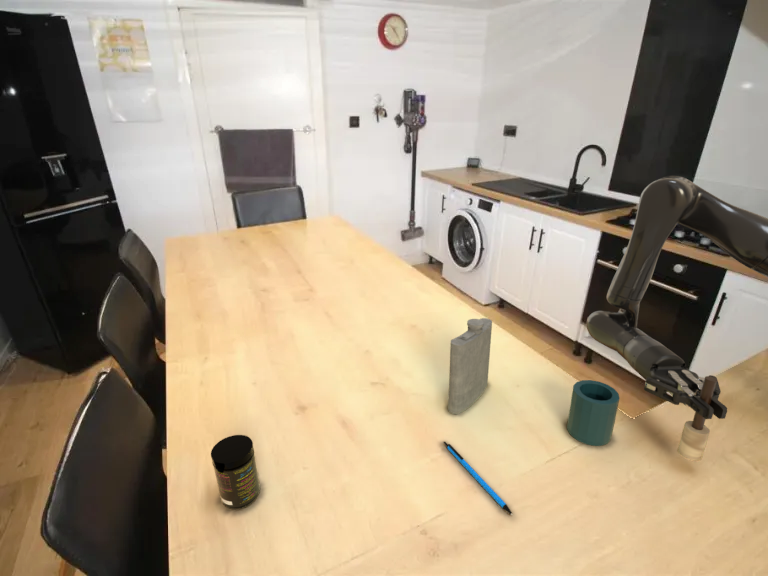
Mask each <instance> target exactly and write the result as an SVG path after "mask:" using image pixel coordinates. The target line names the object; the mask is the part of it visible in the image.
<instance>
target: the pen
mask: <svg viewBox="0 0 768 576" xmlns="http://www.w3.org/2000/svg"><path fill="white" fill-rule="evenodd" d="M443 444H444V445H445V446H446V449H447V450H448V451H449V452H450V453H451V454H452V455H453V456H454V458H455V459H456V460H457V461H458V462H459V463H460V464H461V466H463V467H464V469H465V470H467V472H468V473H469V474H470V475H471V476H472V477H473V478H474V479H475V480H476V481H477V482H478V484H480V486H481V487H482V488H483V489H484V490H485V491H486V492H487V493H488V494H489V496H491V498H493V499H494V501H495V502H496V503H497V504H498V505H499V507H501V508H502V509H503V510H504V511H506V512H507V513H509V514H510V515H513V512H512V511H511V509H510V507H509V506H508V504H507V503H506V502H505V501H504V500H503V499H502V498H501V497H500V496H499V495H498V493H497V492H495V491H494V489H492V487H490V485H489V484H488V483H487V482H486V481H485V480H484V479H483V477H481V476H480V475H479V474H478V473H477V471H475V470H474V468H472V466H471V465H470V464H469V463H468V462H467V461H466V460H465V459H464V457H463V456H462V455H461V454H460V453H459V452H458V451H457V450H456V449H455V448H454V447H453V446H452V444H450V443H447V442H446V441H444V442H443Z"/></svg>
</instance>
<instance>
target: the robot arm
mask: <svg viewBox="0 0 768 576" xmlns="http://www.w3.org/2000/svg"><path fill="white" fill-rule="evenodd" d="M636 210H637V211H636V215H635V220H634V224H633V229H632V232H631V235H630V238H629V241H628V244H627V246H626V249H625V251H624V254H623V256H622V258H621V260H620V263H619V265H618V266H617V268H616V270H615V271H616V272H615V274H614V276H613V278H612V280H611V282H610V286H609V288H608V290H607V293H606V300H607V302H608V303H609V304H610V305H612V306H613V307H615V308H618V309H619V310H618V311H607V310H596V311H593V312H592V313H591V314H589V316H587V319H586V323H585V324H586V330H587V332H588V334H589V336H590V337H591V338H592V339H593V340H594V341H596V342H598V343H599V344H601V345H603V346H604V347H607V348H608V349H611V350H613V351H615V352H616V353H617V354H618V355H620V357H622V358H623V359H624V360H625V361H626V362H627V364H628V365H629V367H631V368H632V369H633V370H634V371H635V372H636V373H637V374H638V375H640V377H641V378H643V379H644V380H645V383H644V386H643V390H644V391H645V392H647V393H649V394H651V395H653V396H656V397H658V398H660V399H662V400H664V401H666V402H669V403H670V404H672V405H674V406H675V405H676V406H679V405H680V404H683V405H684V406H685V407H688V408H689V407H690V408H691V409H692V410H693V411H694V413H695V412H696V413H698V414H699V415H701V416H703V417H704V418H705V419H706V420H711V419H712V418H713V416H715V417H716V418H717V419H718V420H724V419H726V417H727V413H728V407H727V406H726V405H725V404H723V403H722V402H721V401H720V400H719V398H720V395H721V392H722V391H721V387H720V384H719V380H718V377H717V376H715V375H713V374H711V375H708V376H710V377H713V378H715V379H716V380H717V382H716V385H715V389H714V392H713V396H712V399H711V403H710V405H708V404H707V403H706V402H705V401H704V400H702V399H701V398H700V394H701V390H702V386H703V383H704V379H705V377H703V376H699V374H698V373H696V372H694V371H691V370H689V369H688V367H687V364H686V363H685V361H684V359H683V358H681V357H680V356H679V355H677V354H676V353H675V352H673V351H672V350H670V349H669V348H667V346H665V345H664V344H662V343H661V342H660V341H658V340H656V339H654V338H652V337H651V336H650V335H649V334H647V333H646V332H644V331H643V330H641V329H639V328H638V320H639V313H640V312H639V311H640V306H641V302H642V300H643V297H644V295H645V293H646V292H647V289H648V287H649V284H650V282H651V280H652V278H653V274H654V272H655V269H656V265H657V262H658V259H659V256H660V253H661V251H662V250H663V247H664V246H665V243H666V241H667V239H668V237H670V235H671V233H672V231H673V230H674V229H675V227H676V226H677V225H678V224H679V225H681V226H684V227H686V228H688V229H691V230H693V231H695V232H696V233H699V234H700V235H702V236H703V237H705V238H707V239H708V240H709V241H711V242H712V243H714V245H716V246H718V248H720V249H721V250H722V251H724V252H725V253H726V254H727V255H729V256H730V257H731V258H733V260H735V261H737V262H738V263H740V264H741V265H743V266H745V267H746V268H748V269H750V270H752V271H754V272H756V273H758V274H760V275H762V276H764V277H766V278H768V217H765V216H763V215H761V214H758V213H755V212H753V211H749V210H747V209H744V208H741V207H740V206H739V207H738V206H736V205H734V204H731V203H729V202H727V201H725V200H723V199H721V198H719V197H718V196H716V195H714V194H712V193H711V192H709V191H707V190H706V189H704V188H702V187H701V186H699V185H697V184H695V183H694V182H693V181H691V180H690V179H687V178H686V177H683V176H679V175H667V176H663V177H661V178H658V179H656V180H654V181H652V182H650V183H649V184H648V185H647V186H646V187H644V189H643V190H642V192H641V194H640V195H639V201H638V205H637V209H636ZM667 393H669V394H670V395H668V394H667Z"/></svg>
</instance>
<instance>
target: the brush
mask: <svg viewBox="0 0 768 576" xmlns="http://www.w3.org/2000/svg"><path fill="white" fill-rule="evenodd" d="M704 378H705V379H704V383H703V386H702V390H701V394H700V398H701V399H702V400H704V401H705V402H706V403H707V404H708V405H710V403H711V399H712V396H713V392H714V389H715V385H716V382H717V380H718V379H717V380H716V379H715V378H713V377H710V376H709V375H706V376H704ZM706 420H707V419H705V418H704V417H703V416H701V415H699V414H698V413H696V412H695V411H694V415H693V419H692V420H687V421H685V422H684V424H683V428H682V432H681V435H680V439H679V443H678V447H677V453H678V455H680V456H681V457H682V458H684V459H686V460H688V461H691V462H700V461H702V459H703V456H704V453H705V450H706V446H707V442H708V440H709V436H710V432H711V431H710V428H709V427H708V426H707V425H705V422H706Z"/></svg>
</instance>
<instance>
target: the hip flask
mask: <svg viewBox="0 0 768 576" xmlns="http://www.w3.org/2000/svg"><path fill="white" fill-rule="evenodd" d="M466 327H467V330H466V331H465V332H463V333H462V334H460V335H458V336H456V337H455V338H454V337H453V338H452V339H451V340H450V343H449V344H450V347H449V372H448V373H449V375H448V379H449V380H448V402H447V403H448V404H447V411H448V412H449V413H450V414H452V415H461V414H462V413H463V412H465V411H466V410H468V409H469V408H470V407H471V406H473V405H474V404H475V403H476V402H477V401H478V400H479V398H480V397H482V395H483V394H484V393H485V391H486V389H487V388H488V384H489V383H488V381H489V368H490V355H491V343H492V328H493V320H491V319H490V318H486V317H483V318H470V319H468V320H467V321H466Z"/></svg>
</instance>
